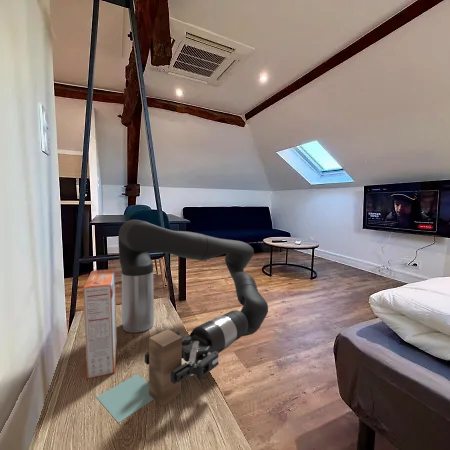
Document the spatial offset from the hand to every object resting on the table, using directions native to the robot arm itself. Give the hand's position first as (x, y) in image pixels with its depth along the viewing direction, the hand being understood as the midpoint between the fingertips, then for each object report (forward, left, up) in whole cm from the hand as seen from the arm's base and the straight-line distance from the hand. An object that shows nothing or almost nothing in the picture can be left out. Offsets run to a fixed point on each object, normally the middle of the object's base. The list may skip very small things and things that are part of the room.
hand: (157, 368), depth 50 cm
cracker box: (-21, -1, -7) cm, 22 cm away
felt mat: (-5, -3, -6) cm, 9 cm away
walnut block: (0, +2, -6) cm, 7 cm away
